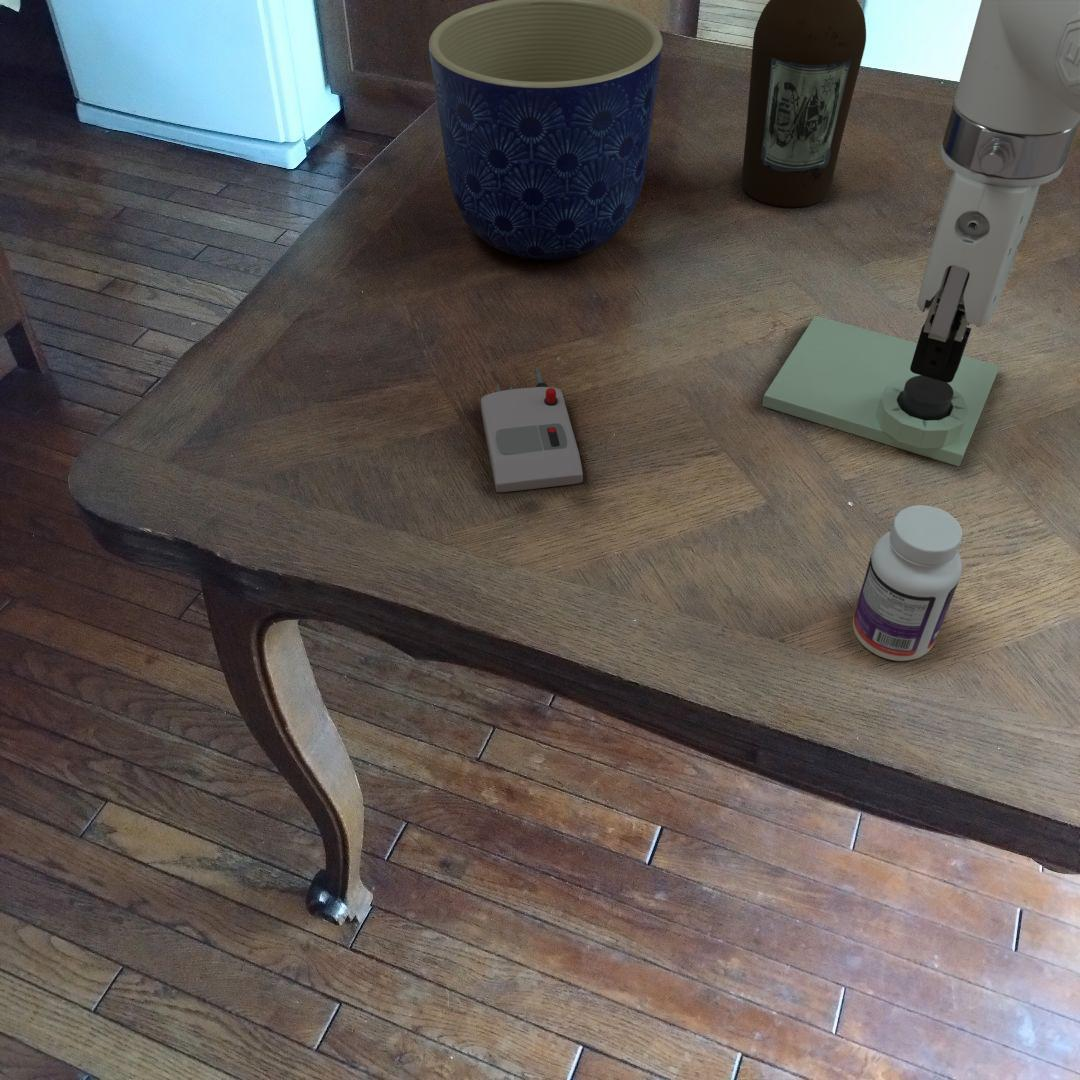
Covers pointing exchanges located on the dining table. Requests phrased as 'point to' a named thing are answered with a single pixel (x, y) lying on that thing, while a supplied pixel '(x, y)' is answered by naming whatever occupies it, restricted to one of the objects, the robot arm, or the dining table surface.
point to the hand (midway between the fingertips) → (932, 371)
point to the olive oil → (800, 97)
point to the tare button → (926, 398)
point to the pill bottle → (909, 584)
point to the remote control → (530, 438)
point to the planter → (546, 120)
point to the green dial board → (875, 390)
